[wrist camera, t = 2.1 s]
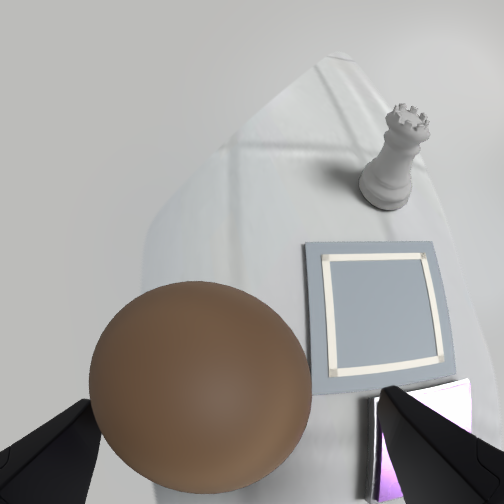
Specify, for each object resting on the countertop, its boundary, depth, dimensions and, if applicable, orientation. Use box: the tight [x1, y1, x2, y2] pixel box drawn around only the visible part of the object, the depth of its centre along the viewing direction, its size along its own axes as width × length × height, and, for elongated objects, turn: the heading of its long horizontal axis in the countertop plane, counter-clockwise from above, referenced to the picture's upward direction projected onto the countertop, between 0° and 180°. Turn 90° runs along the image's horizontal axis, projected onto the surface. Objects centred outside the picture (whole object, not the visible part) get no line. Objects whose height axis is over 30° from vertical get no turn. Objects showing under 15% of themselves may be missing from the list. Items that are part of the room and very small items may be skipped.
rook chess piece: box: [359, 104, 430, 210], centre depth 19 cm, size 4×4×8 cm
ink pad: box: [365, 378, 471, 504], centre depth 12 cm, size 7×7×2 cm
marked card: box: [305, 241, 456, 395], centre depth 17 cm, size 10×10×1 cm
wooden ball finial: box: [89, 281, 312, 494], centre depth 9 cm, size 4×4×14 cm
